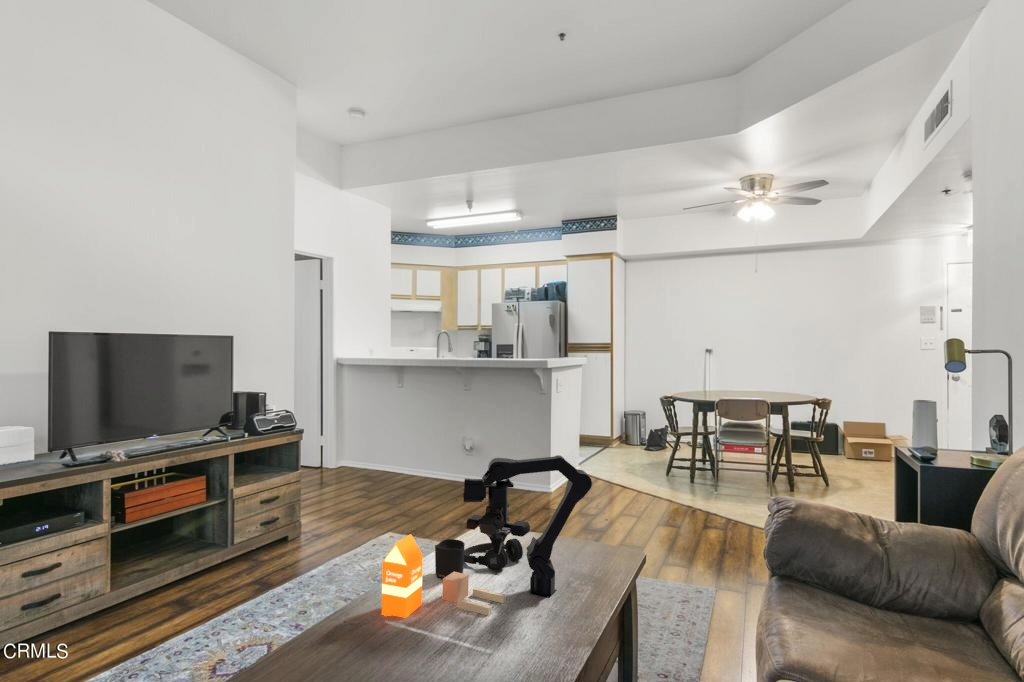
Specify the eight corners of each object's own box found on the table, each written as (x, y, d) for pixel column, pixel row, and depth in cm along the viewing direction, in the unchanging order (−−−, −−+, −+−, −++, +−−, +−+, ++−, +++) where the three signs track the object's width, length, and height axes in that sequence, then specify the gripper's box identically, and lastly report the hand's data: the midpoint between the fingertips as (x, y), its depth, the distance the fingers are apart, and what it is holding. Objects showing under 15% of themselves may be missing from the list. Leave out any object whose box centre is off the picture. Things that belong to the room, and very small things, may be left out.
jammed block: (468, 595, 165) (468, 574, 165) (457, 603, 160) (457, 582, 160) (453, 591, 168) (454, 571, 168) (442, 599, 162) (442, 578, 162)
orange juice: (380, 615, 153) (382, 541, 154) (398, 601, 162) (399, 531, 162) (406, 620, 151) (407, 545, 151) (422, 606, 159) (423, 535, 159)
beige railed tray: (507, 601, 163) (507, 593, 163) (486, 619, 152) (487, 609, 152) (454, 588, 171) (454, 580, 171) (431, 604, 160) (431, 595, 160)
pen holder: (431, 572, 184) (431, 541, 184) (458, 568, 187) (459, 537, 188) (439, 583, 175) (439, 550, 175) (467, 578, 179) (468, 547, 179)
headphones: (497, 550, 183) (451, 547, 194) (500, 574, 182) (453, 569, 193) (526, 536, 196) (481, 534, 208) (529, 558, 196) (484, 555, 207)
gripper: (457, 504, 165) (456, 558, 164) (516, 512, 157) (515, 568, 157) (474, 495, 175) (474, 546, 175) (530, 502, 167) (530, 555, 167)
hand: (497, 554), depth 168 cm, fingers closed
